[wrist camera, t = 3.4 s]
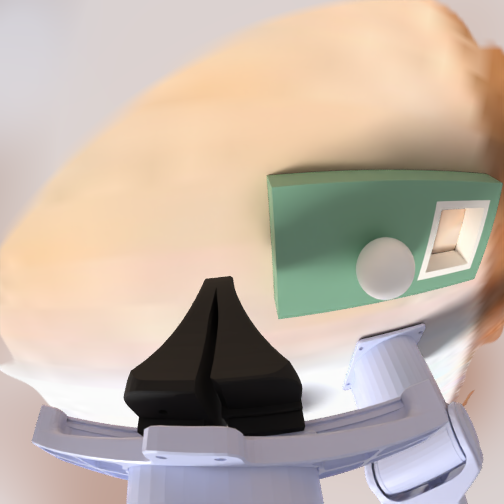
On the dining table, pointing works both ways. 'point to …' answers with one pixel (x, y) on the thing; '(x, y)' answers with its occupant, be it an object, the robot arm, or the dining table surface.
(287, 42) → the dining table surface
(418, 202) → the green
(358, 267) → the ball
